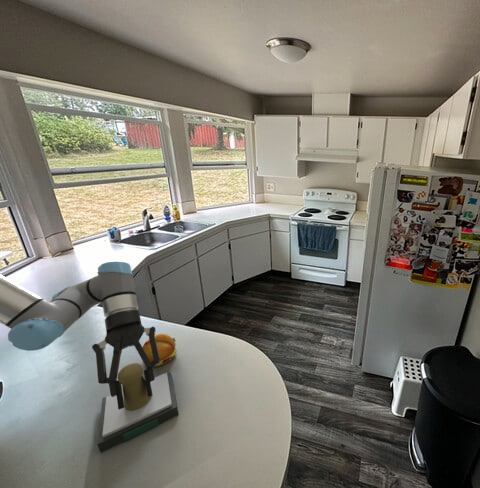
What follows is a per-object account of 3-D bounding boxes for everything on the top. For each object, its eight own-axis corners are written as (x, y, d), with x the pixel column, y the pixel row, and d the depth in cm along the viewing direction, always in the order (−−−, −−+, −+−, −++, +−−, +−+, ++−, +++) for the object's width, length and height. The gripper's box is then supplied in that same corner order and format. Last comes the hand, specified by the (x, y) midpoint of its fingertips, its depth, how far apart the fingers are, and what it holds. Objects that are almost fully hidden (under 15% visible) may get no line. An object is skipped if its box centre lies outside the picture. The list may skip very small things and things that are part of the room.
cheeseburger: (172, 341, 92) (170, 322, 87) (182, 363, 86) (180, 344, 81) (139, 355, 85) (135, 335, 80) (147, 379, 79) (143, 360, 74)
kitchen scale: (100, 455, 58) (95, 444, 56) (105, 405, 69) (101, 395, 67) (179, 416, 67) (176, 406, 65) (172, 378, 78) (170, 368, 76)
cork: (156, 397, 67) (148, 366, 64) (130, 415, 63) (120, 383, 59) (145, 386, 70) (137, 355, 67) (120, 402, 66) (109, 371, 62)
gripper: (161, 307, 77) (177, 384, 71) (82, 328, 67) (92, 421, 60) (159, 300, 72) (177, 384, 65) (72, 322, 61) (82, 424, 55)
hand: (136, 401), depth 63 cm, fingers closed on cork, 5 cm apart
